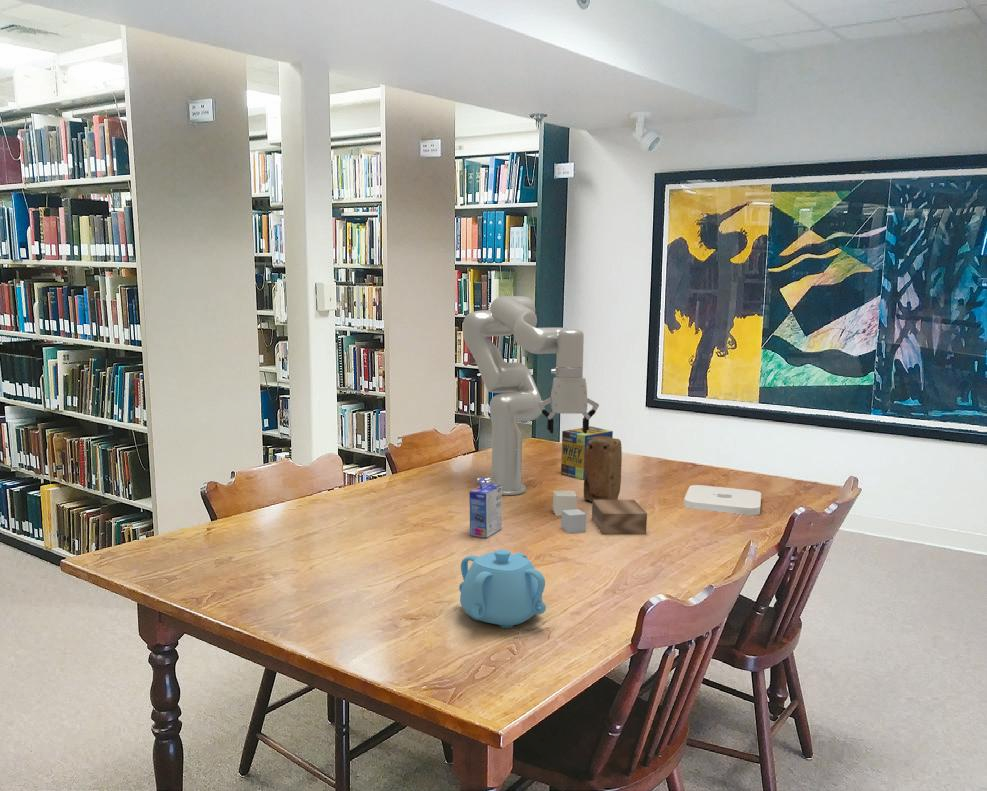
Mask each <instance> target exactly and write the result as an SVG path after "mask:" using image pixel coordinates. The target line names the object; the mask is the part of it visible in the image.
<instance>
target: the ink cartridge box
mask: <svg viewBox="0 0 987 791" xmlns="http://www.w3.org/2000/svg"><path fill="white" fill-rule="evenodd" d="M480 478H481V479H479V480H478V482H479V484H478V485H479V486H478V487H475V488H473V489H472V490H469V534H470V536H473V537H476V538H482V539H483V538H484V539H487V538H489V537H491V536H492V535H494V534H495V533H496V532H498V531H500V530H501V529H502V528H503V524H502V522H503V516H502V514H503V513H502V511H503V508H502V507H503V501H502V500H503V498H502V497H503V495H502V485H496V484H490V483H487V482H486V480H485V478H486V477H484V476H483V477H480ZM482 481H485V483H484V484H481V482H482Z"/></svg>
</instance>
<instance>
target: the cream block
mask: <svg viewBox="0 0 987 791" xmlns="http://www.w3.org/2000/svg"><path fill="white" fill-rule="evenodd" d="M577 504H578V495H577V494H576V492H575V491H574V490H553V491H552V512H553V511H554V512H553V513H555V514H554V516H555V515H556V516H555V517H562V510H573V509H578V508H577V506H578V505H577Z"/></svg>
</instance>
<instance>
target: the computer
mask: <svg viewBox="0 0 987 791" xmlns="http://www.w3.org/2000/svg"><path fill="white" fill-rule="evenodd" d="M683 499H684V500H683V507H684V506H685V507H684V508H686V507H687V508H686V509H688V508H691V509H690V510H693V509H700V510H699V511H702V510H707V511H706V512H712V511H717V512H716V513H721V512H726V513H725V514H731V513H736V514H735V515H740V514H746V515H745V516H750V515H754V516H758V515H757V514H759V515H760V514H761V505H762V504H761V502H762V493H761V492H760V491H757V490H751V489H743V488H733V487H723V486H722V487H721V486H713V485H701V484H692V485H690V486H689V487H688V489H687V491H686V493H685V496H684V498H683Z"/></svg>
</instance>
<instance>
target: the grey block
mask: <svg viewBox="0 0 987 791" xmlns="http://www.w3.org/2000/svg"><path fill="white" fill-rule="evenodd" d="M560 520H561V523H560V528H561V529H562V528H563V529H564V530H563V529H562V530H563V531H565V532H566V531H567V532H566V533H567V534H576V533H575V532H578V533H586V530H587V513H585V512H584V511H582V510H581V509H579V508H577V509H573V510H562V516H561V519H560Z"/></svg>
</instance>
